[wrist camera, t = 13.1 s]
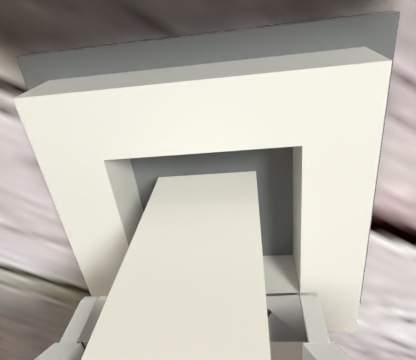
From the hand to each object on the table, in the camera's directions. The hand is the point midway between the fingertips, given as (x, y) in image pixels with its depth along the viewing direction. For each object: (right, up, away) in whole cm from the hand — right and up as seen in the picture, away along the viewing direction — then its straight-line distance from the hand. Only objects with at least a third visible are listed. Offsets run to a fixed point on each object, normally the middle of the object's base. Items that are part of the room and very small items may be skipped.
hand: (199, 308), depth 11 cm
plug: (0, +2, +4) cm, 5 cm away
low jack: (+1, +3, +6) cm, 7 cm away
